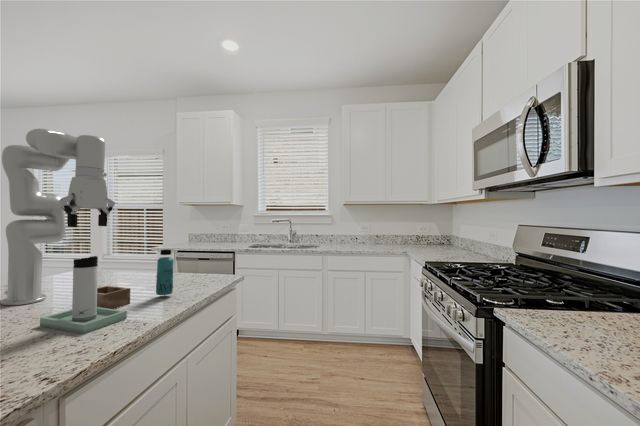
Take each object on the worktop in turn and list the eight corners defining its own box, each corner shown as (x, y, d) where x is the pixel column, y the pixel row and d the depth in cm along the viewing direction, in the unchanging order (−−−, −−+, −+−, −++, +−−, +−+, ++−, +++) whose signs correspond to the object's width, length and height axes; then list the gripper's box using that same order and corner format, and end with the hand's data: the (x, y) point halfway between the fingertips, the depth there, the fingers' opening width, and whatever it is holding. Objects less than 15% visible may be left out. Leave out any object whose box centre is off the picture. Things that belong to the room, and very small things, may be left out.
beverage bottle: (152, 297, 128) (153, 249, 128) (165, 294, 134) (166, 248, 134) (163, 299, 125) (164, 250, 125) (176, 295, 131) (177, 249, 132)
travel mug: (84, 322, 94) (85, 257, 95) (66, 321, 96) (68, 256, 96) (102, 316, 100) (103, 255, 101) (85, 315, 102) (87, 254, 102)
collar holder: (80, 308, 112) (80, 291, 112) (107, 300, 122) (107, 285, 122) (104, 311, 109) (104, 294, 109) (129, 303, 119) (130, 288, 119)
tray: (39, 326, 94) (40, 317, 94) (86, 312, 107) (86, 305, 107) (83, 333, 89) (83, 325, 89) (126, 318, 102) (126, 311, 102)
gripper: (106, 177, 110) (104, 225, 110) (52, 170, 93) (50, 226, 93) (122, 177, 108) (121, 226, 107) (69, 170, 91) (67, 227, 91)
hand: (88, 226), depth 100 cm, fingers open, 9 cm apart
